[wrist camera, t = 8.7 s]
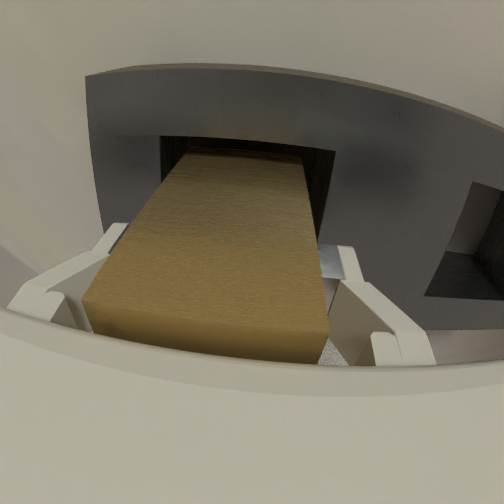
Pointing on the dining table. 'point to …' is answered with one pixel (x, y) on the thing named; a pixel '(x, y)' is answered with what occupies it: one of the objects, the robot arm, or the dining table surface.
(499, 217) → the block with square holes
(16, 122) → the dining table surface
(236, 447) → the robot arm
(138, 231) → the peg
